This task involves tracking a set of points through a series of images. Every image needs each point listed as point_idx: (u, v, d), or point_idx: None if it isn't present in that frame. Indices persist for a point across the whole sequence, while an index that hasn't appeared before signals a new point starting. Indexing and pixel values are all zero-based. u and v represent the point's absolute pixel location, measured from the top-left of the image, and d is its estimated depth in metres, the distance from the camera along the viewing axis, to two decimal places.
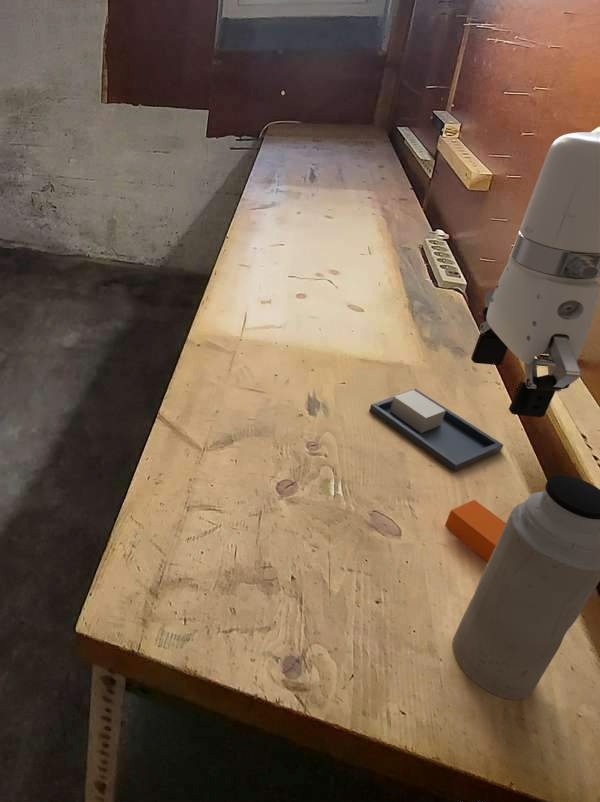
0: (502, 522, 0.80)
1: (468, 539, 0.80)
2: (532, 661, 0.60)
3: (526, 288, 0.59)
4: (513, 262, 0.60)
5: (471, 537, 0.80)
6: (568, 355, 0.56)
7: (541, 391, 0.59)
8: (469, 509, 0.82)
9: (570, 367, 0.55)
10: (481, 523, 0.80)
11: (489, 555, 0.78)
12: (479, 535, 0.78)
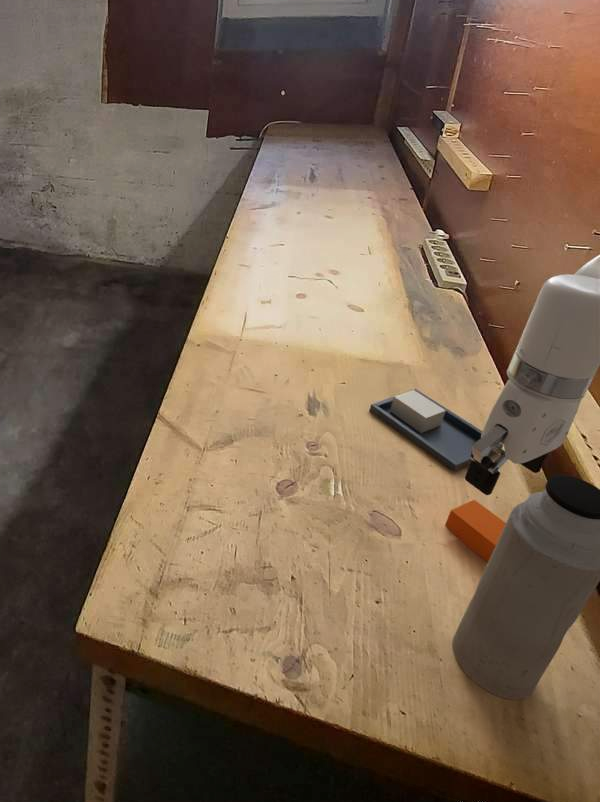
0: (502, 522, 0.80)
1: (468, 539, 0.80)
2: (532, 661, 0.60)
3: None
4: None
5: (471, 537, 0.80)
6: (490, 438, 0.69)
7: (480, 466, 0.72)
8: (469, 509, 0.82)
9: (479, 444, 0.70)
10: (481, 523, 0.80)
11: (489, 555, 0.78)
12: (479, 535, 0.78)
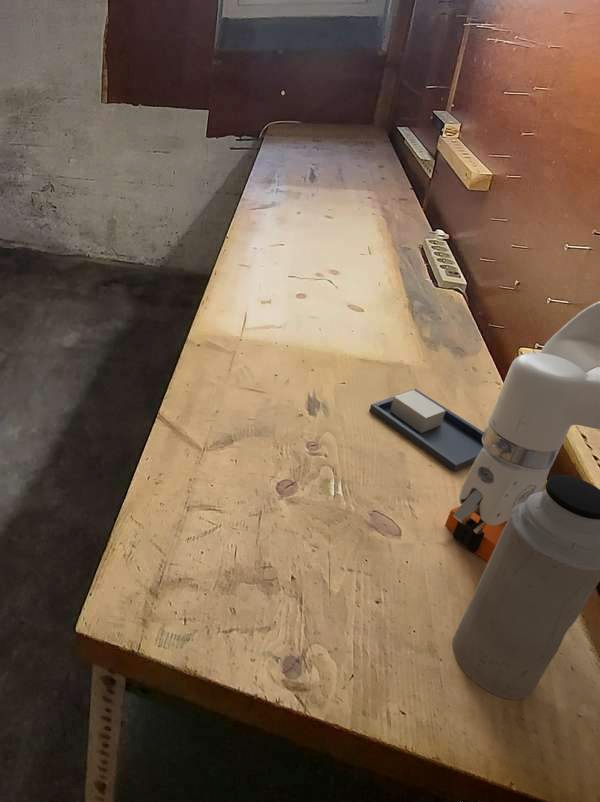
0: None
1: None
2: (532, 661, 0.60)
3: None
4: None
5: None
6: (467, 507, 0.75)
7: (466, 527, 0.78)
8: None
9: (458, 514, 0.76)
10: None
11: (489, 555, 0.78)
12: None
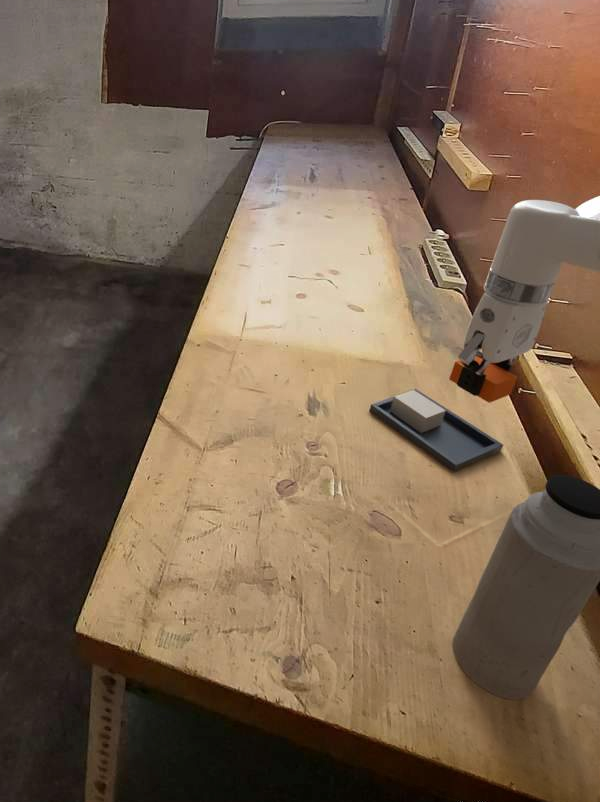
0: (501, 369, 0.88)
1: None
2: (532, 661, 0.60)
3: None
4: None
5: None
6: (470, 348, 0.83)
7: (469, 371, 0.87)
8: None
9: (462, 354, 0.84)
10: None
11: (490, 395, 0.86)
12: None
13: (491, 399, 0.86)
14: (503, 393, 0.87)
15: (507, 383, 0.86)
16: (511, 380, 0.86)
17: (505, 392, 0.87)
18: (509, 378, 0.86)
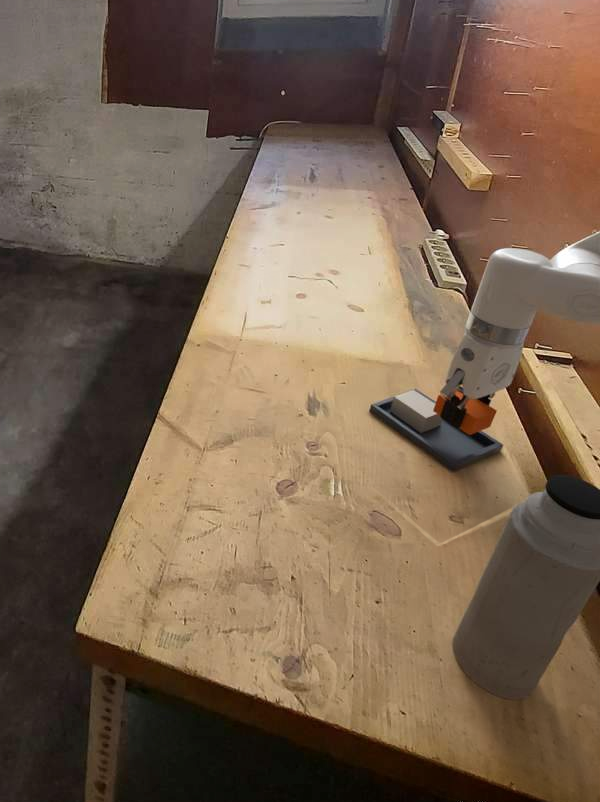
0: (482, 403, 0.93)
1: None
2: (532, 661, 0.60)
3: None
4: None
5: None
6: (452, 384, 0.89)
7: (451, 405, 0.92)
8: None
9: (444, 390, 0.89)
10: None
11: (470, 428, 0.91)
12: None
13: (472, 431, 0.91)
14: (483, 426, 0.92)
15: (487, 416, 0.91)
16: (490, 414, 0.91)
17: (485, 424, 0.92)
18: (488, 412, 0.91)
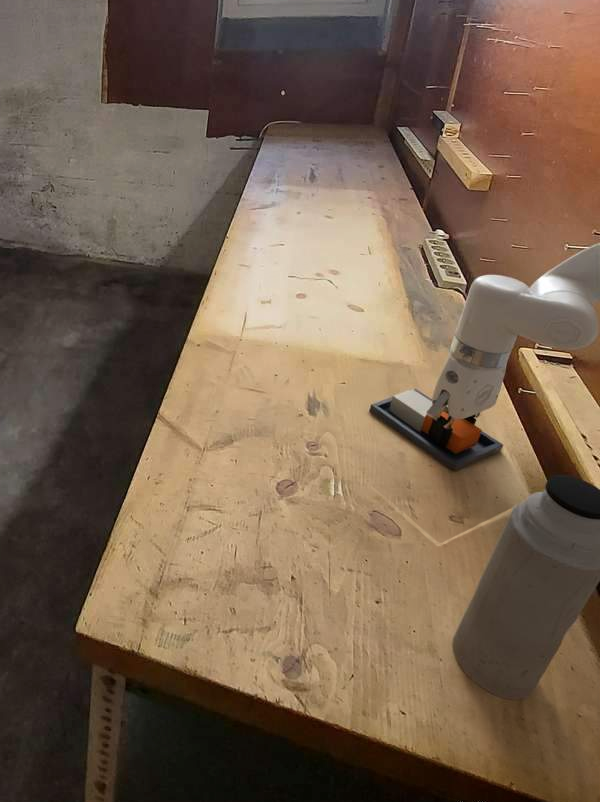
0: (467, 422, 0.96)
1: None
2: (532, 661, 0.60)
3: None
4: None
5: None
6: (437, 405, 0.92)
7: (438, 425, 0.95)
8: None
9: (430, 411, 0.92)
10: None
11: (456, 447, 0.94)
12: None
13: (458, 450, 0.94)
14: (469, 444, 0.95)
15: (472, 436, 0.94)
16: (476, 433, 0.94)
17: (470, 443, 0.95)
18: (474, 431, 0.94)
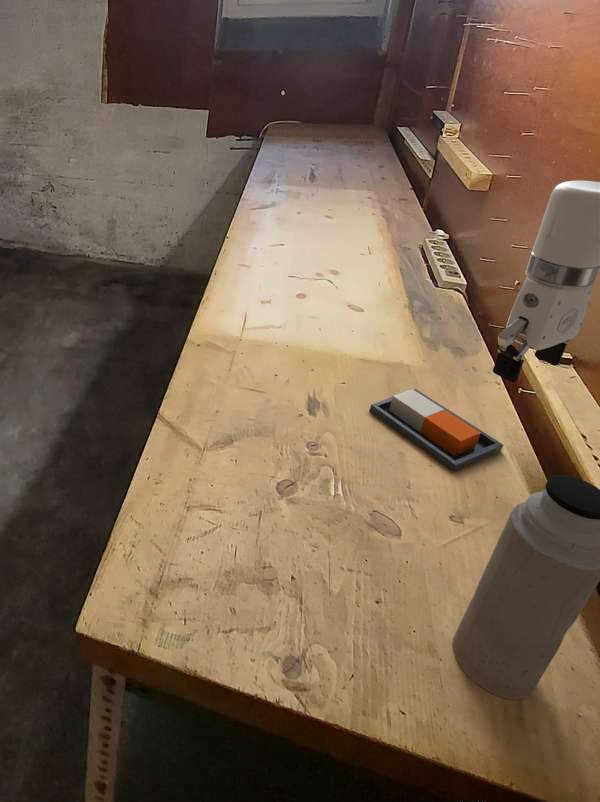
0: (466, 425, 0.97)
1: (438, 439, 0.97)
2: (532, 661, 0.60)
3: None
4: None
5: (441, 437, 0.97)
6: (513, 328, 0.81)
7: (505, 357, 0.83)
8: (440, 416, 0.99)
9: (504, 333, 0.81)
10: (449, 426, 0.97)
11: (455, 450, 0.95)
12: (447, 434, 0.95)
13: (456, 453, 0.95)
14: (468, 447, 0.95)
15: (471, 439, 0.95)
16: (474, 436, 0.95)
17: (469, 446, 0.95)
18: (473, 434, 0.95)
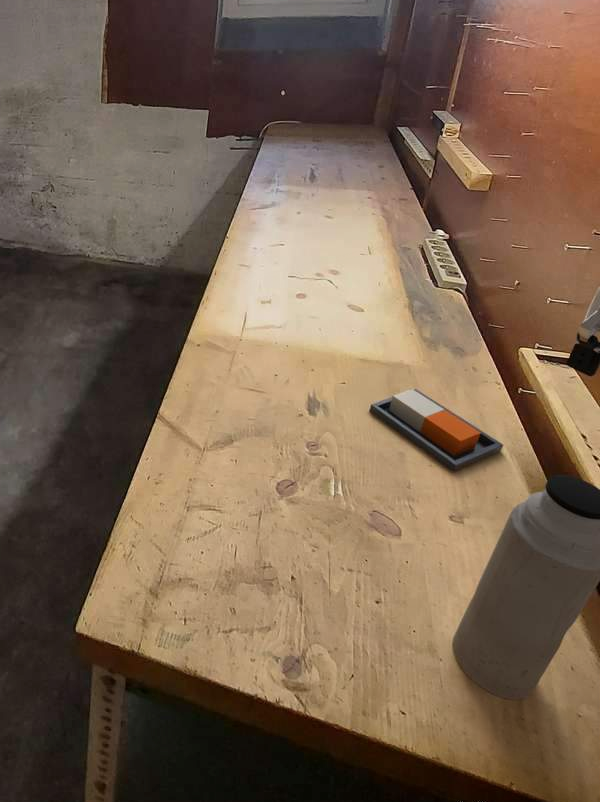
0: (466, 425, 0.97)
1: (438, 439, 0.97)
2: (532, 661, 0.60)
3: None
4: None
5: (441, 437, 0.97)
6: (597, 317, 0.74)
7: (584, 348, 0.77)
8: (440, 416, 0.99)
9: (587, 323, 0.74)
10: (449, 426, 0.97)
11: (455, 450, 0.95)
12: (447, 434, 0.95)
13: (456, 453, 0.95)
14: (468, 447, 0.95)
15: (471, 439, 0.95)
16: (474, 436, 0.95)
17: (469, 446, 0.95)
18: (473, 434, 0.95)
